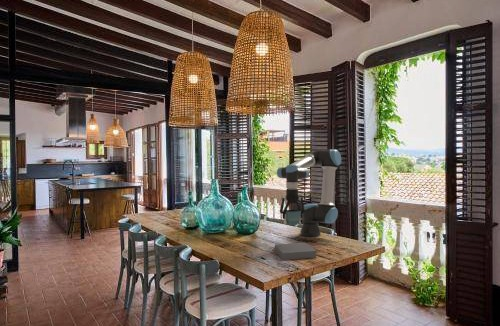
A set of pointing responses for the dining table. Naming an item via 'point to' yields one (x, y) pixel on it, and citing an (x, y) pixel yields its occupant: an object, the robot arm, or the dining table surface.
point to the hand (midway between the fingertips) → (292, 223)
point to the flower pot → (293, 217)
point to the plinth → (295, 251)
